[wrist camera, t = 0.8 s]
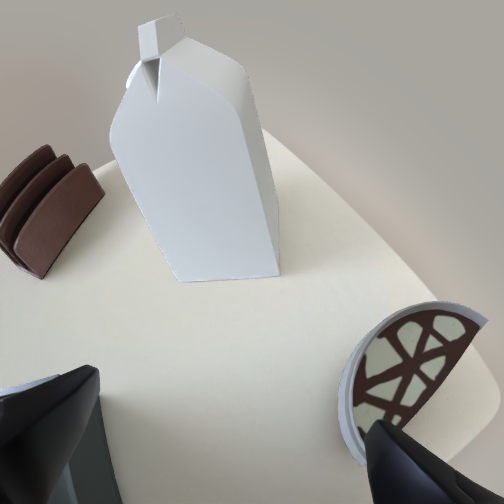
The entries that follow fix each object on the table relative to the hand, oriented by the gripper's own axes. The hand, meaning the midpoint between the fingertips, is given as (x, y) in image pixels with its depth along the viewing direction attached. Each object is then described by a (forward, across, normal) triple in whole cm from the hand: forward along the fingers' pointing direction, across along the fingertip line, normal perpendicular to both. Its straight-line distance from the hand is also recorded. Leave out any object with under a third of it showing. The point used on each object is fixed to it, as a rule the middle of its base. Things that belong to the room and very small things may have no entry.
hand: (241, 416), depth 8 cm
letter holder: (+39, +32, +9) cm, 52 cm away
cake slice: (+12, -13, +7) cm, 20 cm away
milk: (+30, +2, +1) cm, 30 cm away
